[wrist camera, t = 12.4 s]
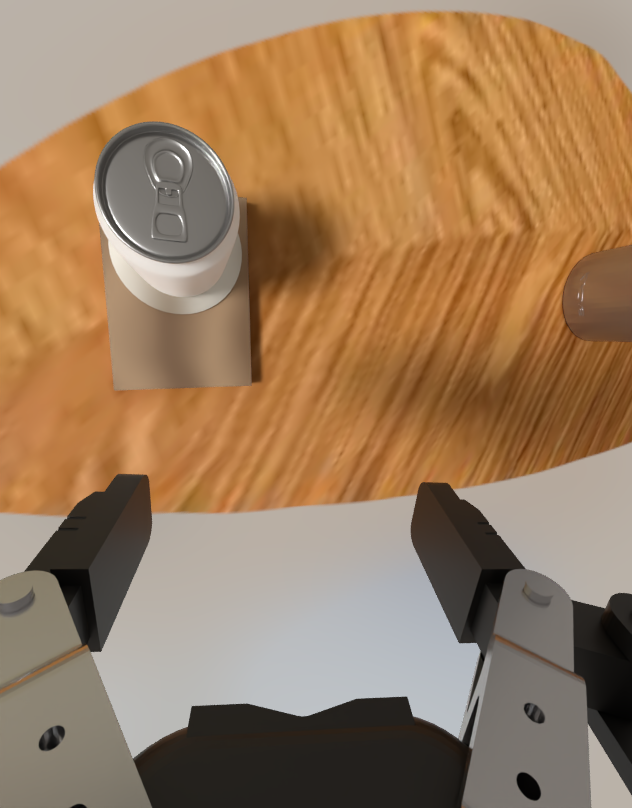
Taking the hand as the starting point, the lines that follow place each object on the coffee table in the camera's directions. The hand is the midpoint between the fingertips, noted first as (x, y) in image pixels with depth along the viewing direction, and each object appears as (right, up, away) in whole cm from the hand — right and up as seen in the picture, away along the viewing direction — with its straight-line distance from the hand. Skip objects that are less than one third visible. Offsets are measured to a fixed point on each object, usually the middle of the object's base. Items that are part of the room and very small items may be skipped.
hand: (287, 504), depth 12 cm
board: (-10, +11, +19) cm, 24 cm away
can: (-9, +14, +17) cm, 23 cm away
